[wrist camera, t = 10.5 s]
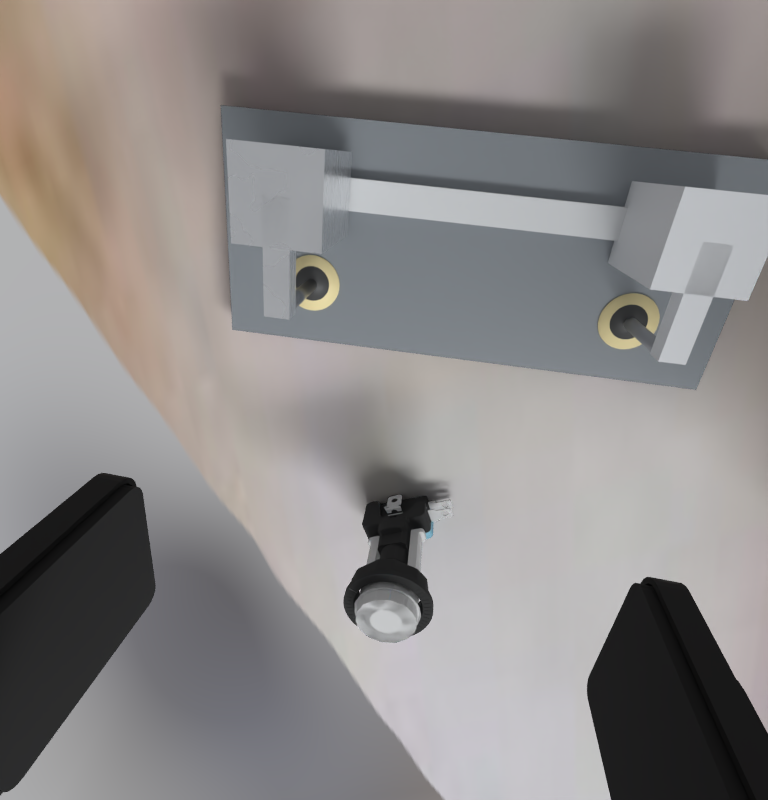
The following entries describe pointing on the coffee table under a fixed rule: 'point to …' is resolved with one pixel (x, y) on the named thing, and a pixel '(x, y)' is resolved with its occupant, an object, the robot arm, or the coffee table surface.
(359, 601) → the push button
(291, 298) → the sliding block
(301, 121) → the plate
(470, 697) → the coffee table surface
